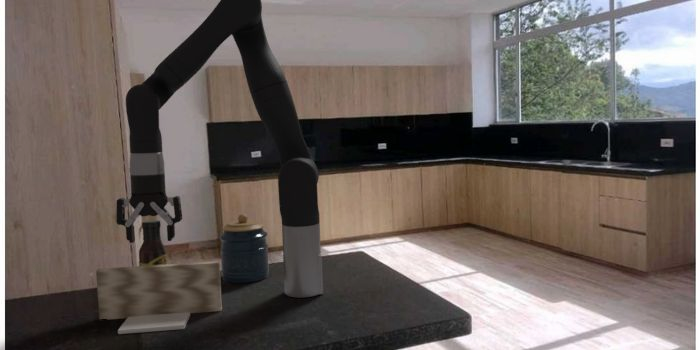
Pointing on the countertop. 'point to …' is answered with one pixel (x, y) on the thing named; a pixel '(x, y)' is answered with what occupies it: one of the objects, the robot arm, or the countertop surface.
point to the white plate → (154, 323)
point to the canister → (244, 251)
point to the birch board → (159, 289)
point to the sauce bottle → (152, 245)
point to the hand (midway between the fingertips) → (151, 241)
